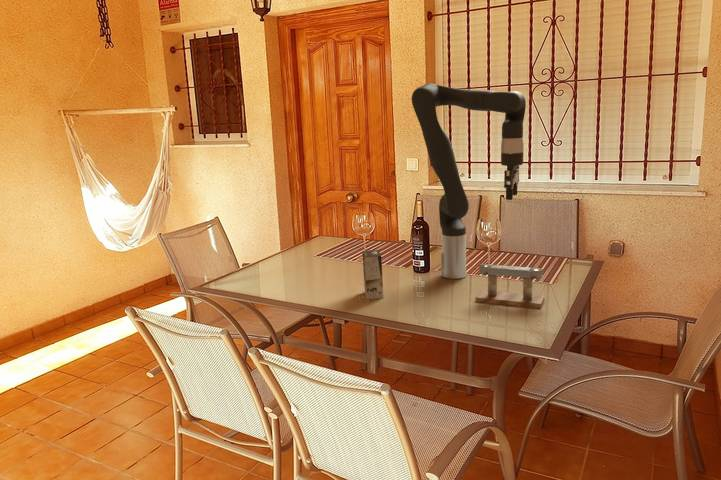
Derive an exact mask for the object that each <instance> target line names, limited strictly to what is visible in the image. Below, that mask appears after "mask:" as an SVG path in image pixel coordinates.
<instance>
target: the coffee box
mask: <svg viewBox="0 0 721 480" xmlns="http://www.w3.org/2000/svg"><path fill="white" fill-rule="evenodd" d="M382 263H383V262H382V255H381V252H380V249H369V250H368V249H367V250H363V251H362V266H363V270H362V271H363V285H364V295H365V298H366V300H378V299H383V298H384V286H383V285H384V284H383V264H382Z"/></svg>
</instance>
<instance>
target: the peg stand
mask: <svg viewBox="0 0 721 480" xmlns="http://www.w3.org/2000/svg"><path fill="white" fill-rule="evenodd" d="M522 279H523V280H522V281H523V283H522V286H523V287H522V293H516V292H508V291H507V292H505V291H504V292H503V291H498V275H489V274H487V290H485V289H484V290H483V289H480V290H479V292H478V293H477V295H476V296H475V302H477V303H488V304H495V305H496V304H498V305H508V306H517V307H524V308H525V307H527V308H535V309H542V306H543V304H544V301H545V295H538V294H533V280H534V279H533V278H525V277H522Z"/></svg>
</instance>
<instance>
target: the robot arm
mask: <svg viewBox="0 0 721 480" xmlns="http://www.w3.org/2000/svg"><path fill="white" fill-rule="evenodd" d="M411 105H412V108H413V111H414V113H415V115H416V119H417V121H418V122H419V123H418V124H419V126H420V129H421V133H422V136H423V139H424V140H423V141H424V144H425V146H426V151H427V156H428V158H429V159H428V160H429V162H430V165H431V167H432V169H433V171H434V173H435V175H436V176H437V178H438V180H439V181H440V183H441V185H442V188H443V191H444V194H443V195H442V196H441V198H440V199H439V203H438V213H439V214H438V215H439V225H440V229H441V242H442V243H441V244H442V249H441V251H442V252H441V253H440V277H441V278H442V277H443V278H446V279H451V280H457V279H464V278H465V277H467V230H466V229H467V227H466V225H465V224H464V222H463V219H462V218H465V216H466V215H467V214H468V212H469V207H470V204H469V200H468V198H467V195H466V192H465V189H464V186H463V184H462V181H461V177H460V173H459V169H458V165H457V161H456V158H455V157H456V156H455V153H454V149H453V144H452V143H451V142H452V141H451V140H450V137H449V136H448V135H447V133H446V132H445V130H444V129H443V128H442V126H441V124H440V122H439V119H438V114H437V110H436V108H437V107H441V106H443V107H444V106H453V107H454V106H455V107H460V108H463V109H466V110H470V111H477V112H479V111H480V112H496V113H502V114H504V121H503V122H502V125H501V142H500V165H502V166H504V167H505V166H506V170H504V171H503V173H504V178H503V179H504V180H503V183H504V185H503V189H505V199H506V201H512V200H513V199H514V197H513V196H517V195H518V184H519V182H520V166H522V165H524V144H525V143H524V120H525V115H526V114H525V113H526V97H525V95H524V94H523V93H522V92H521V91H519V90H518V91H515V90H514V91H493V90H487V89H467V88H466V89H464V88H456V87H448V86H444V85H440V84H436V83H430V82H429V83H425V84H423V85H421V86H419V87H418V88H416V89H415V90H413V93H412V95H411Z"/></svg>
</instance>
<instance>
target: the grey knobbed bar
mask: <svg viewBox="0 0 721 480" xmlns="http://www.w3.org/2000/svg"><path fill="white" fill-rule="evenodd" d="M543 271H544V270H543V268H539V267H524V266H513V265H500V264H499V265H498V264H490V263H481V264H479V265H478V273H479V275H484V276H485V275H486V276H488V274H489V275H497V276H502V277H503V276H504V277H514V278H523V277H525V278H533V279H532V280H536V279H537V280H538V279H542V278H543V276H544V275H543Z"/></svg>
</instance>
